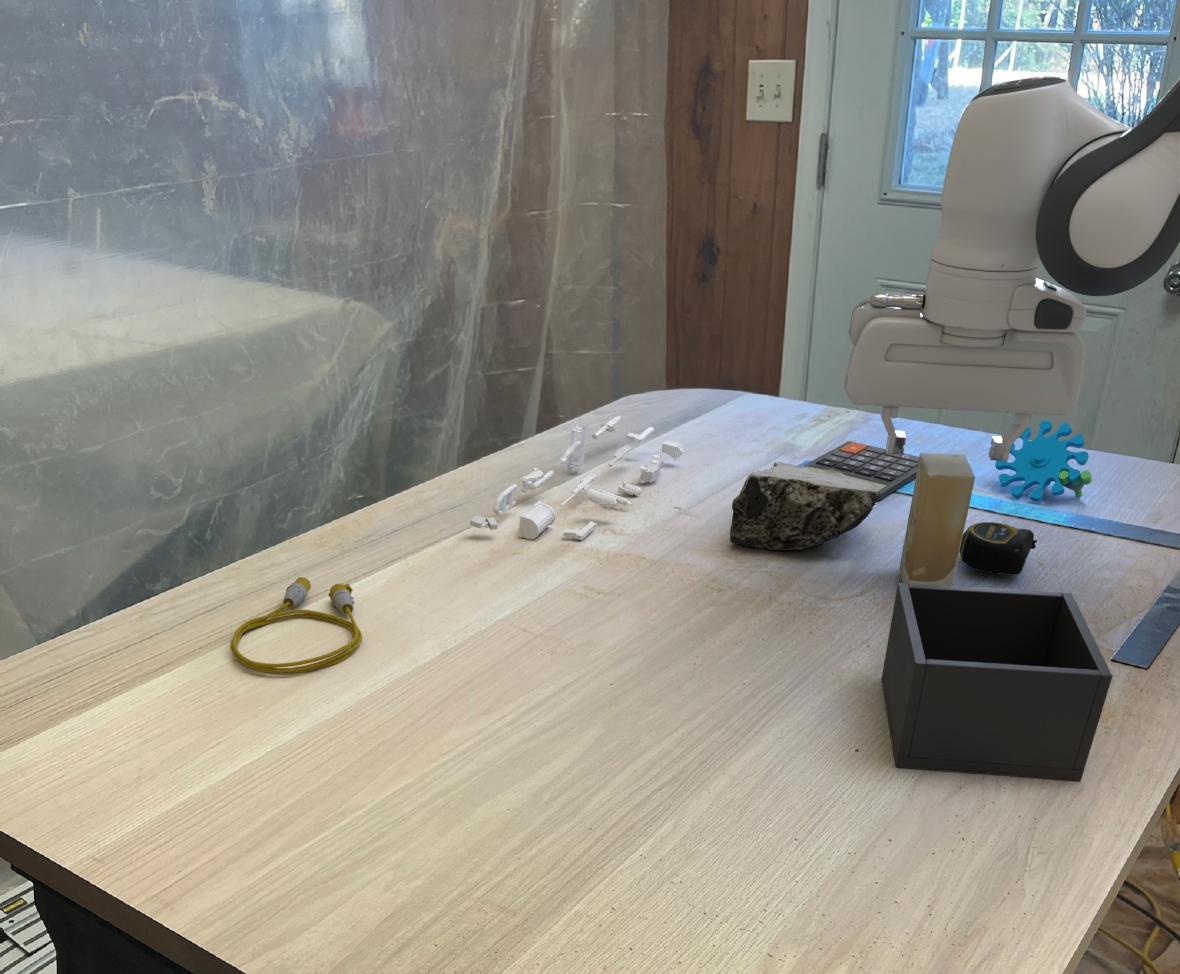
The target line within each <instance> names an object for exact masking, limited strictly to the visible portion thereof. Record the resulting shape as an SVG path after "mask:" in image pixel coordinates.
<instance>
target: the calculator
mask: <svg viewBox="0 0 1180 974" xmlns="http://www.w3.org/2000/svg"><path fill="white" fill-rule="evenodd" d="M919 457H920V456H917V455H912V454H909V453H905V452H904V453H903V455H893V454H892V455H890V454H887V453H886V448H882V447H877V446H874V445H868V444H865V443H860V442H856V441H846V442H844V443H842V444H840V445H839V446H837V447H834V448H833V449H831V450H830V451H828V452H826V453H823V454H822V455H820V456H818V457H816V458H815V459H813V460H811V461H809V462H807V463H805V464H803V465H802V466H804V467H810V468H816V469H819V470H823V469H831V470H836V471H840V472H842V473H843V474H844V475H847V476H850V477H853V478H858V479H862V480H865V481H870V482H871V483H873V484H874V485H876V486H878V487H879V488H880V494H879V497H878V499H877V501H881V500H882V499H884V498H886V497H888V496H889V495H891V494H892V493H894V492H896V491H897V490H898V489H900V488H901V487H904V486H905V485H906V484H908V483H910V482H911V481H913V480H914V479H916V474H917V469H918V463H919ZM904 484H905V485H904ZM877 501H876V502H877Z"/></svg>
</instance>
